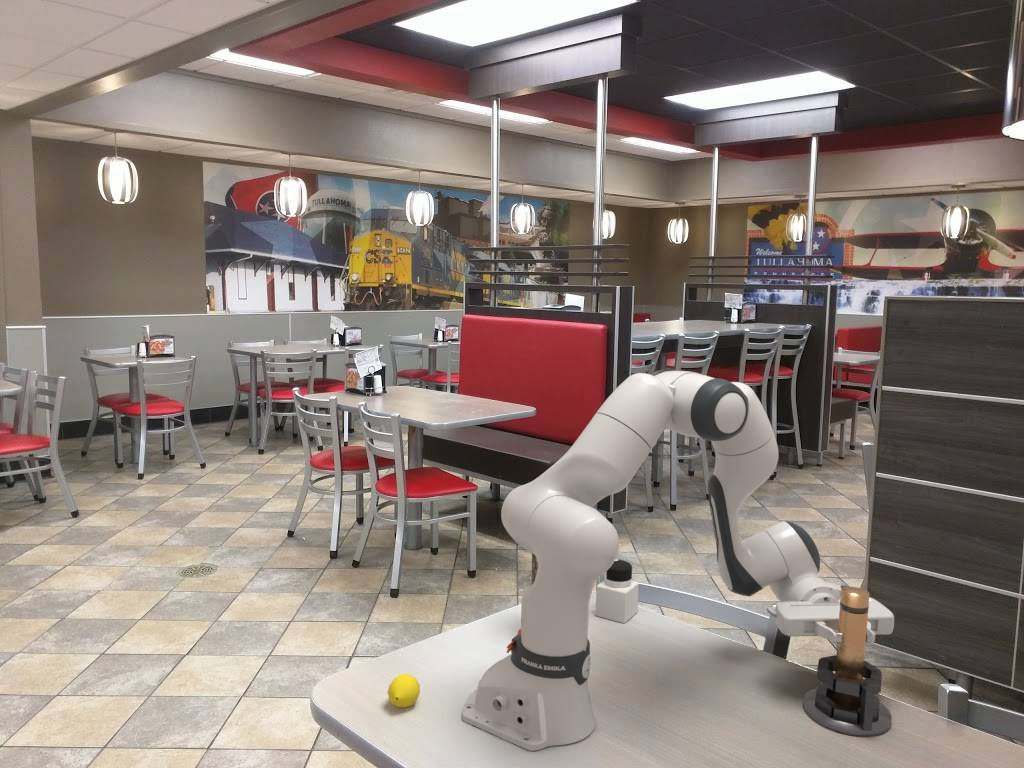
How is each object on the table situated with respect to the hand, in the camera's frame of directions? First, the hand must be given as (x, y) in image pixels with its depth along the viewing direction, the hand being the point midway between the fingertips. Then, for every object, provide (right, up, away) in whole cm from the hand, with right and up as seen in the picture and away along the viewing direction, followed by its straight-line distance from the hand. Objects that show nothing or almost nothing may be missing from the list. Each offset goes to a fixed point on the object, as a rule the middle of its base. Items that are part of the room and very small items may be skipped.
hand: (854, 638), depth 133 cm
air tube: (0, -12, +2) cm, 12 cm away
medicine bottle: (-35, -8, +42) cm, 55 cm away
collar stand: (0, -14, +3) cm, 14 cm away
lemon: (-77, -13, +4) cm, 78 cm away
